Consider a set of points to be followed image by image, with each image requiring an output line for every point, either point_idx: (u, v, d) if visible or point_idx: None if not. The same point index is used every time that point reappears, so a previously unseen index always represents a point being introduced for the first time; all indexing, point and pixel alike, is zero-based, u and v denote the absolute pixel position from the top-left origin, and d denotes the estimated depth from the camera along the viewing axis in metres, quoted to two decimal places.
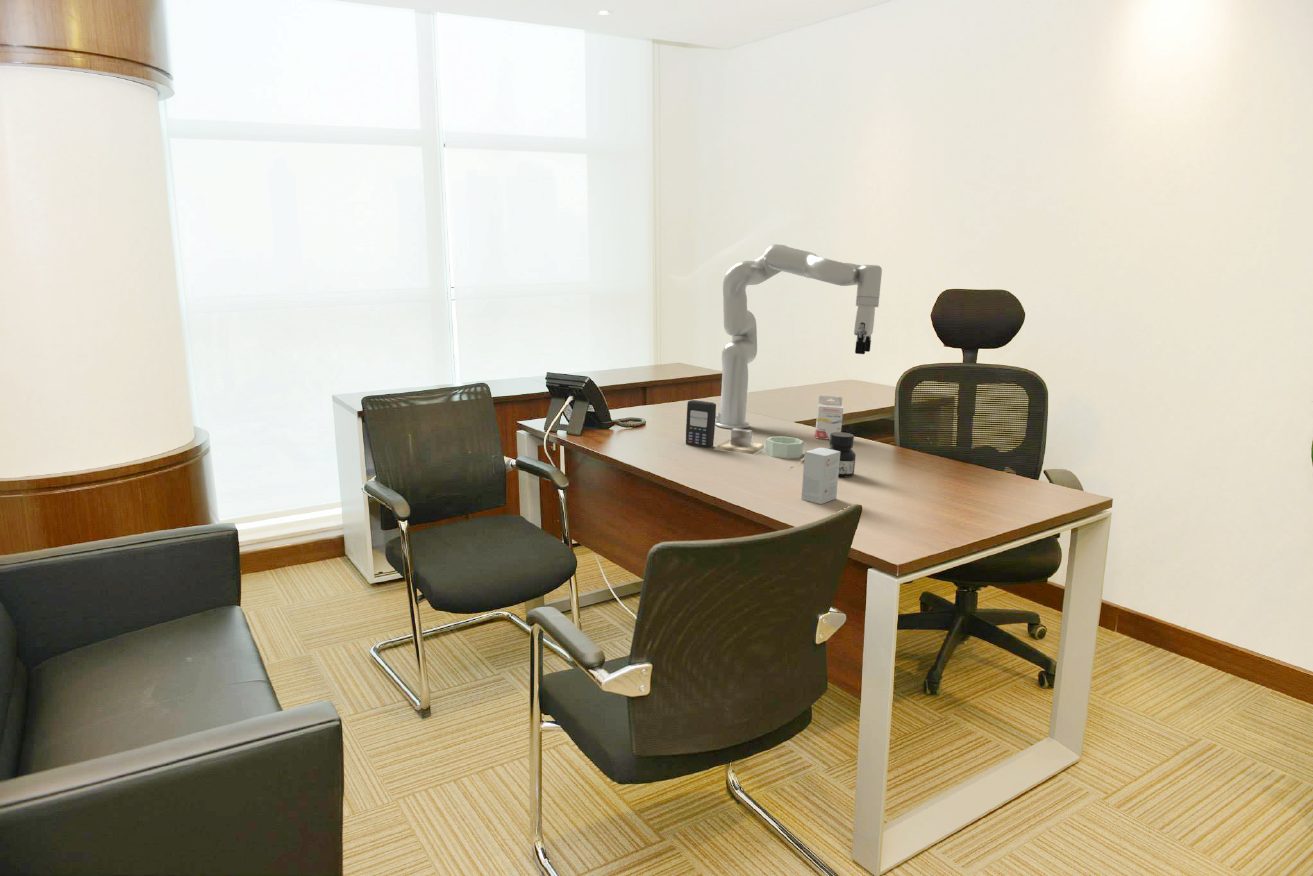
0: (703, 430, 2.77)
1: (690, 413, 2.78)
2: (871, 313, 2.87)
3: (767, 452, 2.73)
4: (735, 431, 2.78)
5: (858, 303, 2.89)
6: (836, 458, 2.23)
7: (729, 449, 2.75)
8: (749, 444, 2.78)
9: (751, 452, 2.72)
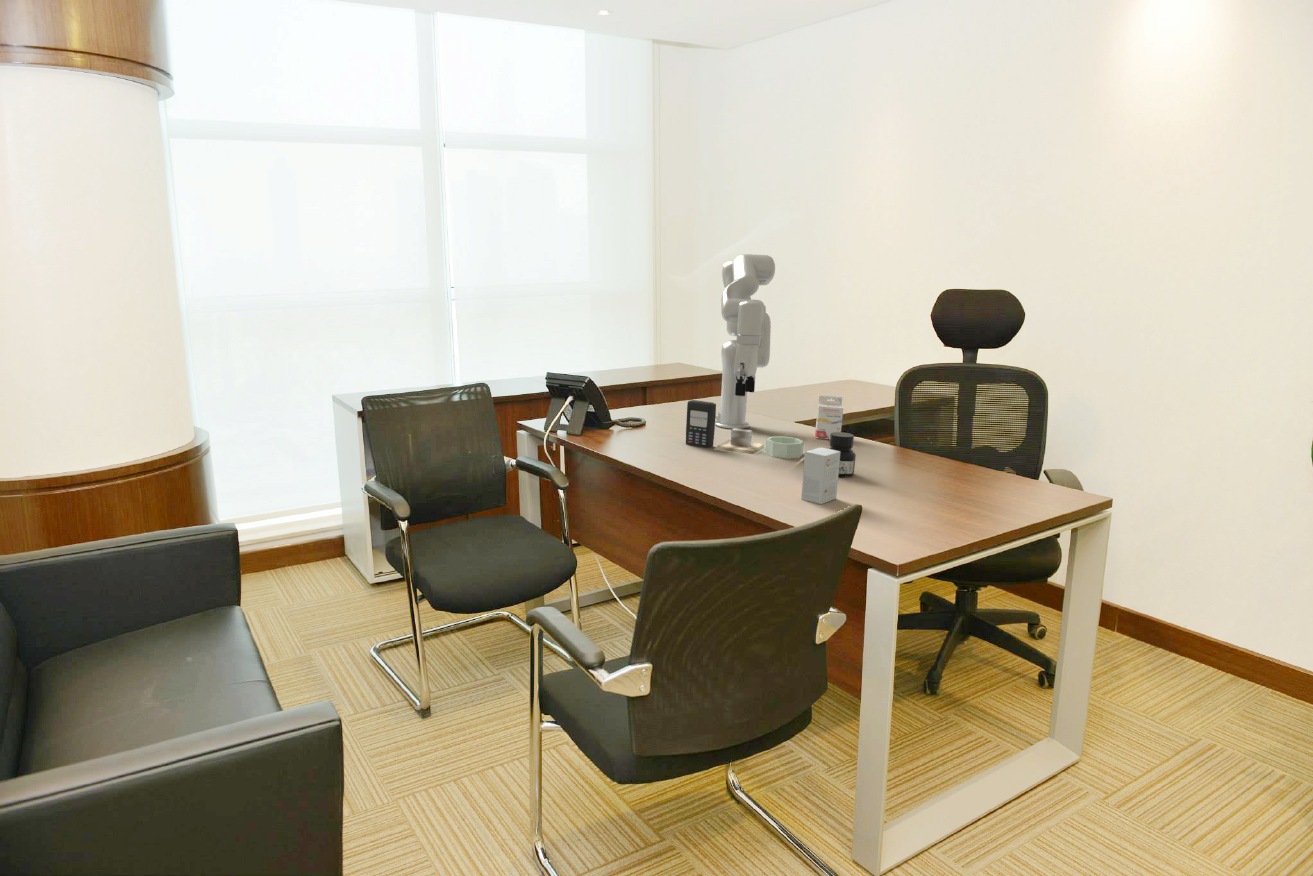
0: (703, 430, 2.77)
1: (690, 413, 2.78)
2: (751, 353, 2.69)
3: (767, 452, 2.73)
4: (735, 431, 2.78)
5: (738, 342, 2.71)
6: (836, 458, 2.23)
7: (729, 449, 2.75)
8: (749, 444, 2.78)
9: (751, 452, 2.72)
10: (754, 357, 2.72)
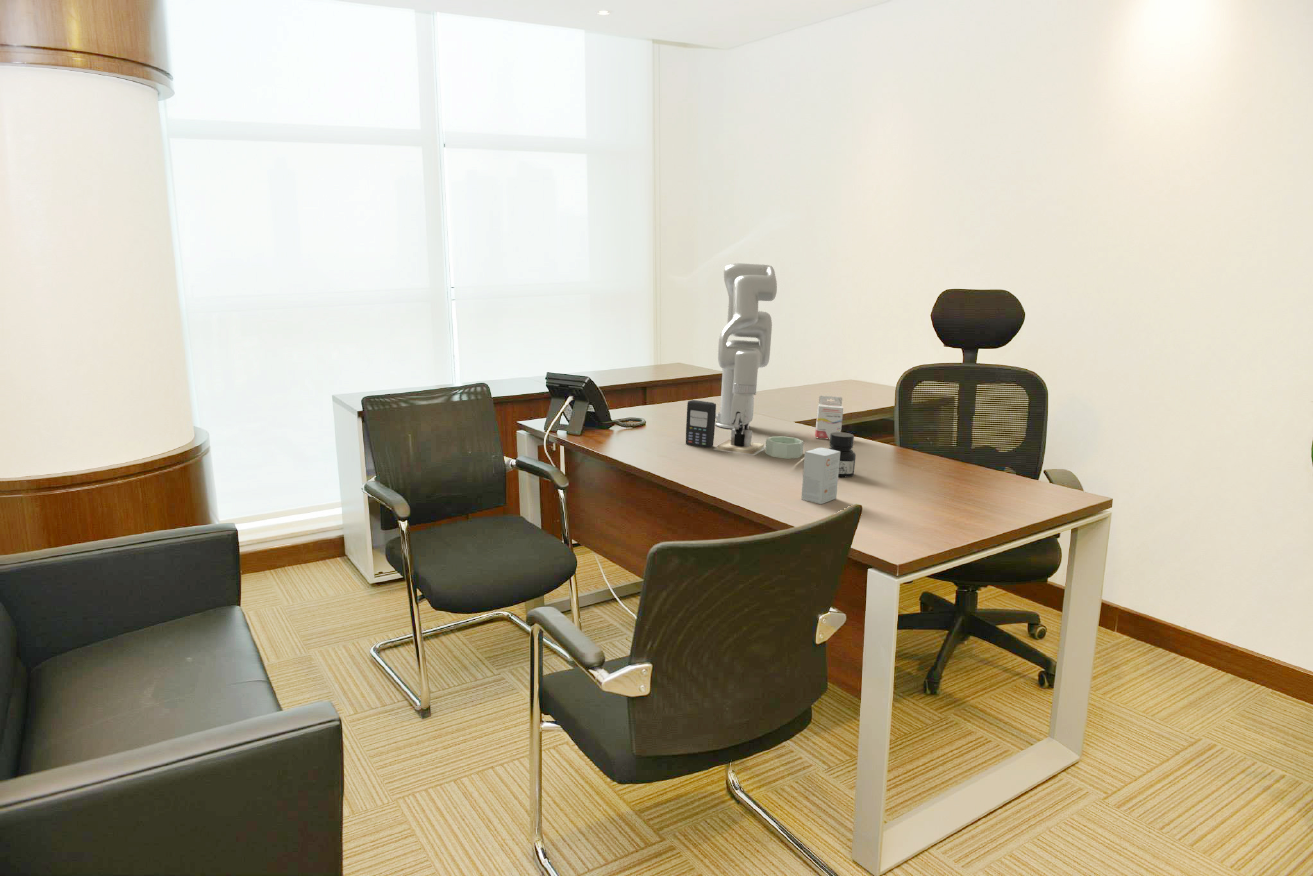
0: (703, 430, 2.77)
1: (690, 413, 2.78)
2: (747, 402, 2.72)
3: (767, 452, 2.73)
4: None
5: (734, 391, 2.74)
6: (836, 458, 2.23)
7: (729, 449, 2.75)
8: (749, 444, 2.78)
9: (751, 452, 2.72)
10: (750, 405, 2.75)
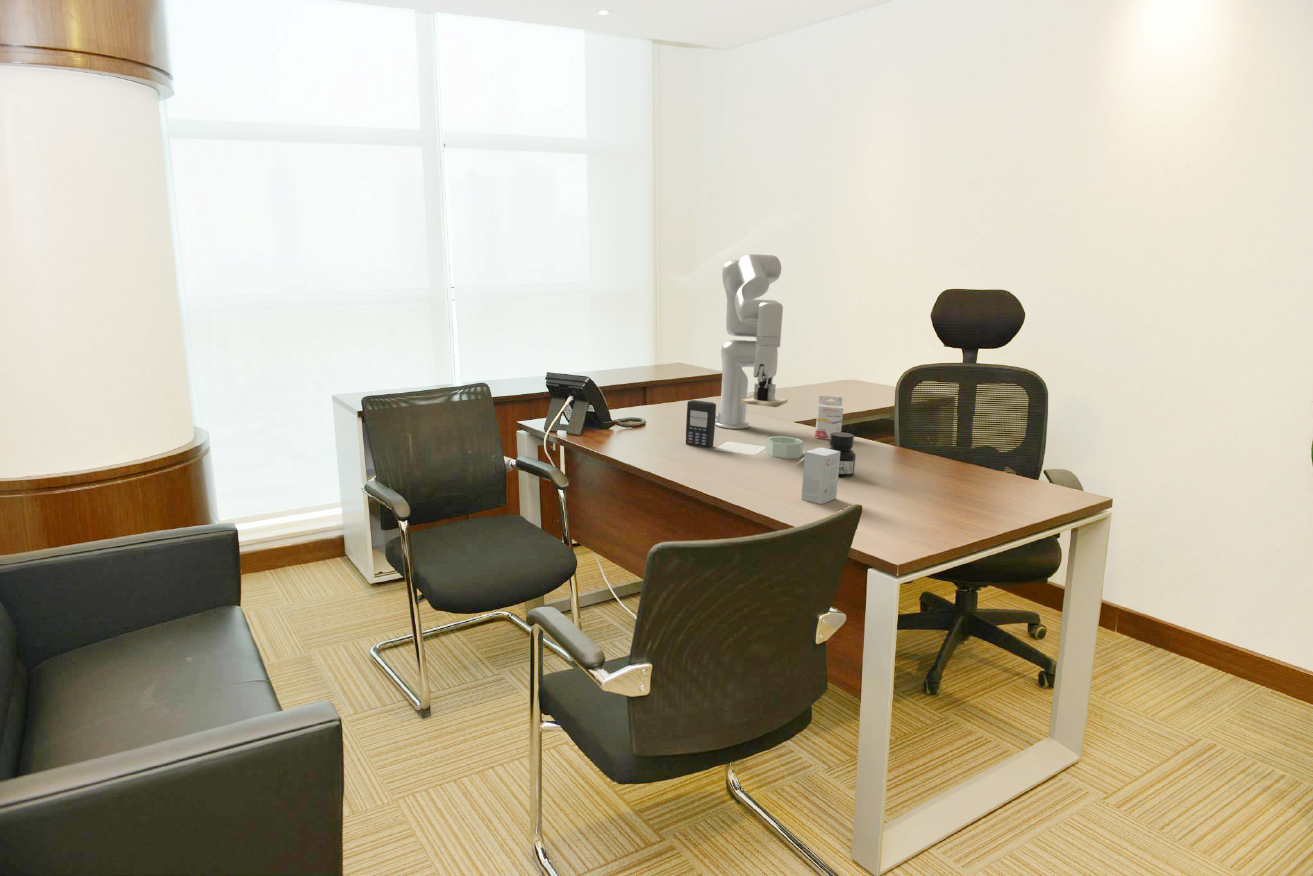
0: (703, 430, 2.77)
1: (690, 413, 2.78)
2: (771, 354, 2.66)
3: (767, 452, 2.73)
4: None
5: (758, 343, 2.68)
6: (836, 458, 2.23)
7: (752, 403, 2.69)
8: (773, 398, 2.72)
9: (775, 405, 2.66)
10: (774, 358, 2.69)
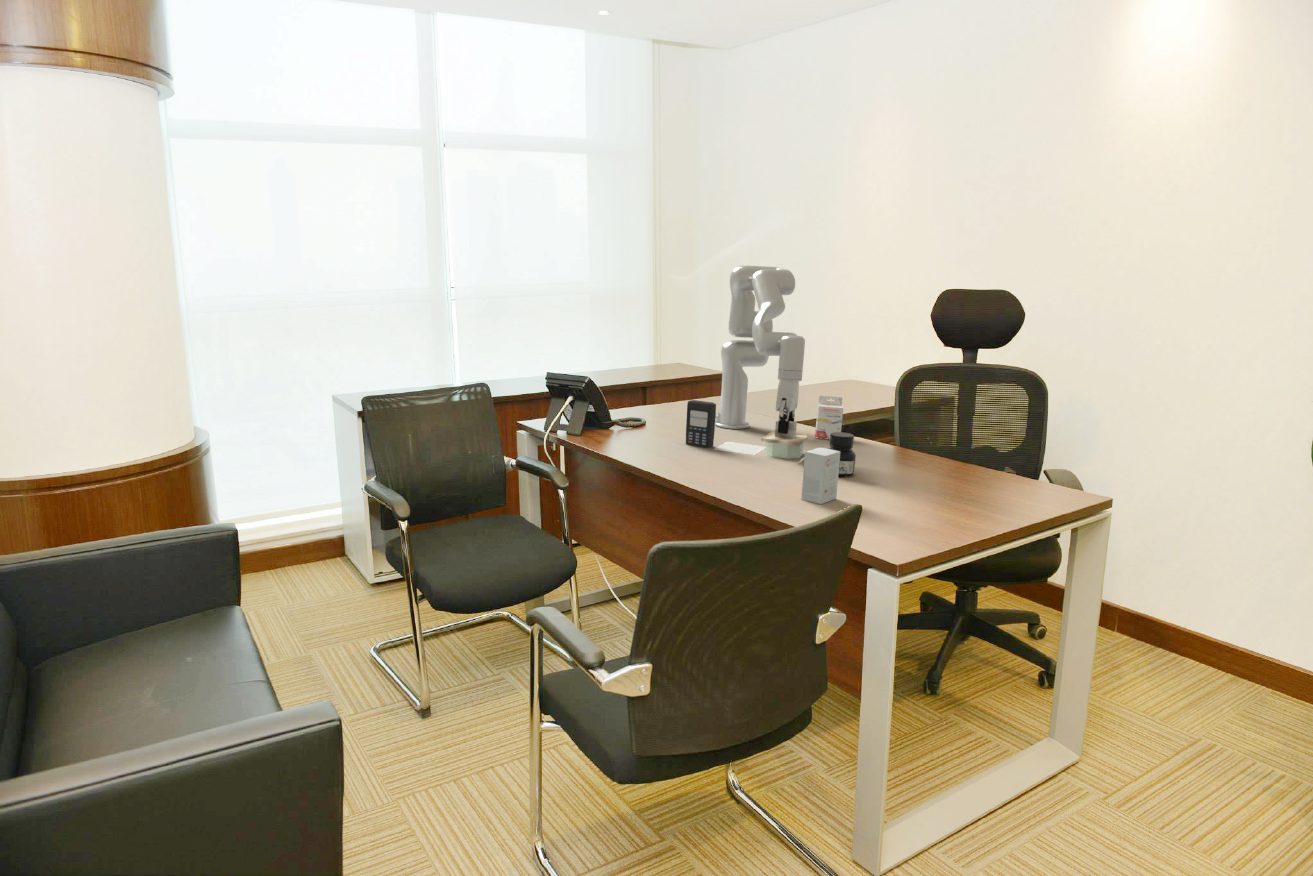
0: (703, 430, 2.77)
1: (690, 413, 2.78)
2: (793, 388, 2.66)
3: (767, 452, 2.73)
4: None
5: (780, 377, 2.67)
6: (836, 458, 2.23)
7: (774, 441, 2.68)
8: (794, 436, 2.71)
9: (797, 444, 2.65)
10: (796, 392, 2.68)
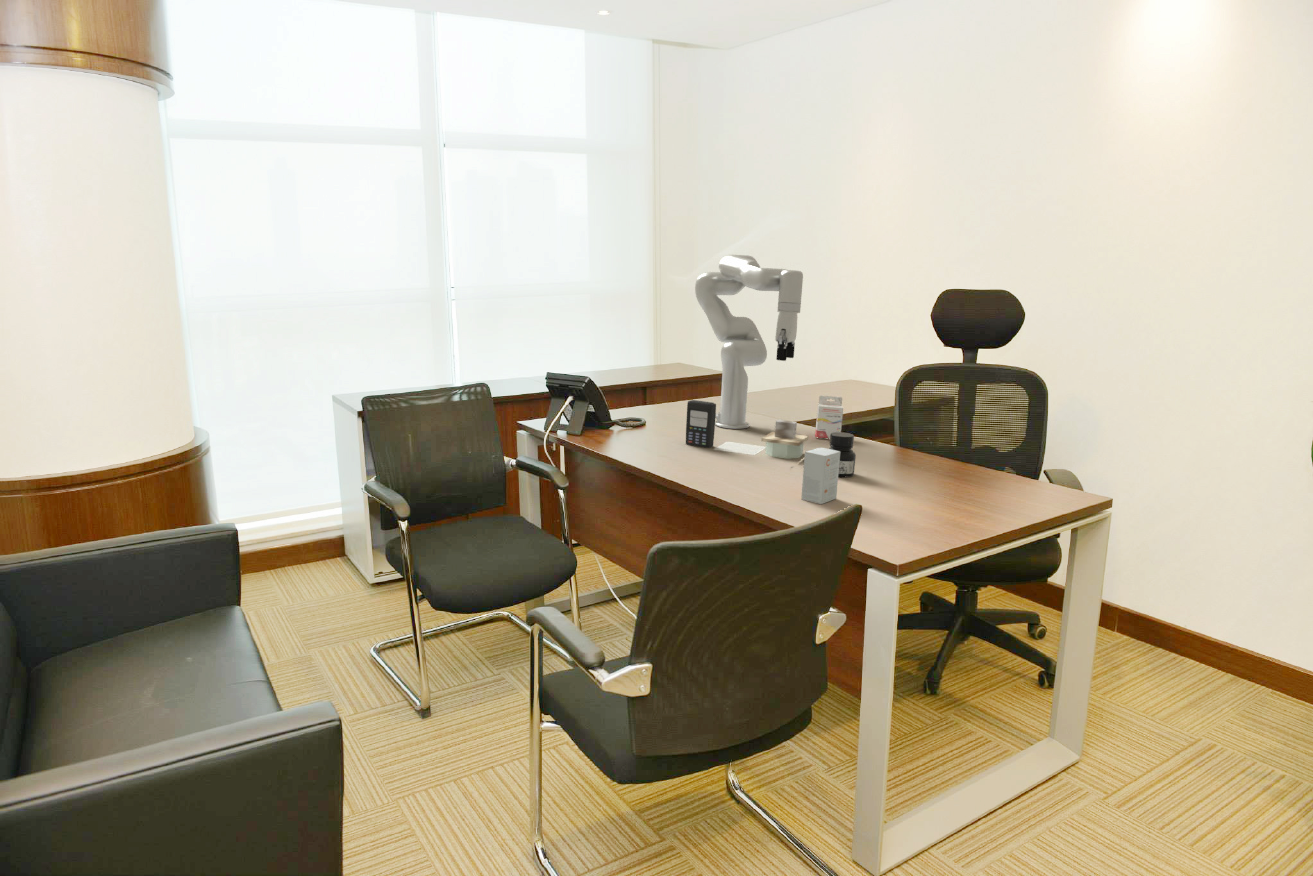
0: (703, 430, 2.77)
1: (690, 413, 2.78)
2: (792, 319, 2.83)
3: (767, 452, 2.73)
4: (779, 423, 2.71)
5: (779, 309, 2.85)
6: (836, 458, 2.23)
7: (774, 441, 2.68)
8: (794, 436, 2.71)
9: (797, 444, 2.65)
10: (794, 324, 2.86)
